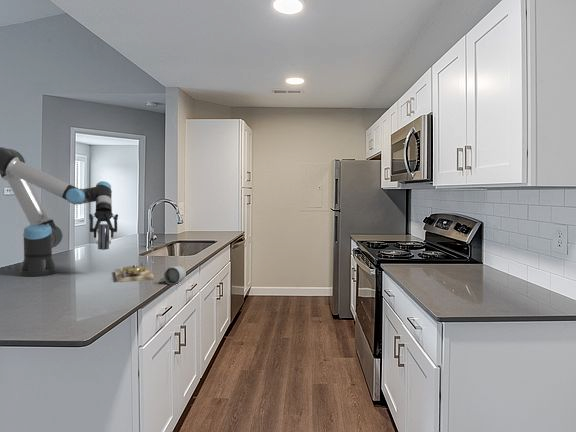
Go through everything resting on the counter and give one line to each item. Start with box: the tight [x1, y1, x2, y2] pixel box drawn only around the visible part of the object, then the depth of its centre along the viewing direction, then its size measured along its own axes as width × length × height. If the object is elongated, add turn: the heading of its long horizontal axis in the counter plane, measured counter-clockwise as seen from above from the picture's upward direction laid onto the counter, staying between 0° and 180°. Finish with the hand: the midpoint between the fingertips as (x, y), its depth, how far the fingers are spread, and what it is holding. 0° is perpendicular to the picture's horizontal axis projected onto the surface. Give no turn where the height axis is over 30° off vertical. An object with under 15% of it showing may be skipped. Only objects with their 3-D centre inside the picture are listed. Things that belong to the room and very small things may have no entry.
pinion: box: [97, 223, 110, 251], centre depth 207 cm, size 5×5×12 cm
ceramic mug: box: [160, 265, 187, 285], centre depth 191 cm, size 11×8×8 cm
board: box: [114, 262, 155, 283], centre depth 205 cm, size 16×25×4 cm, turn 24°
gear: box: [122, 264, 147, 276], centre depth 199 cm, size 10×10×5 cm
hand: (103, 242), depth 204 cm, fingers closed on pinion, 5 cm apart
